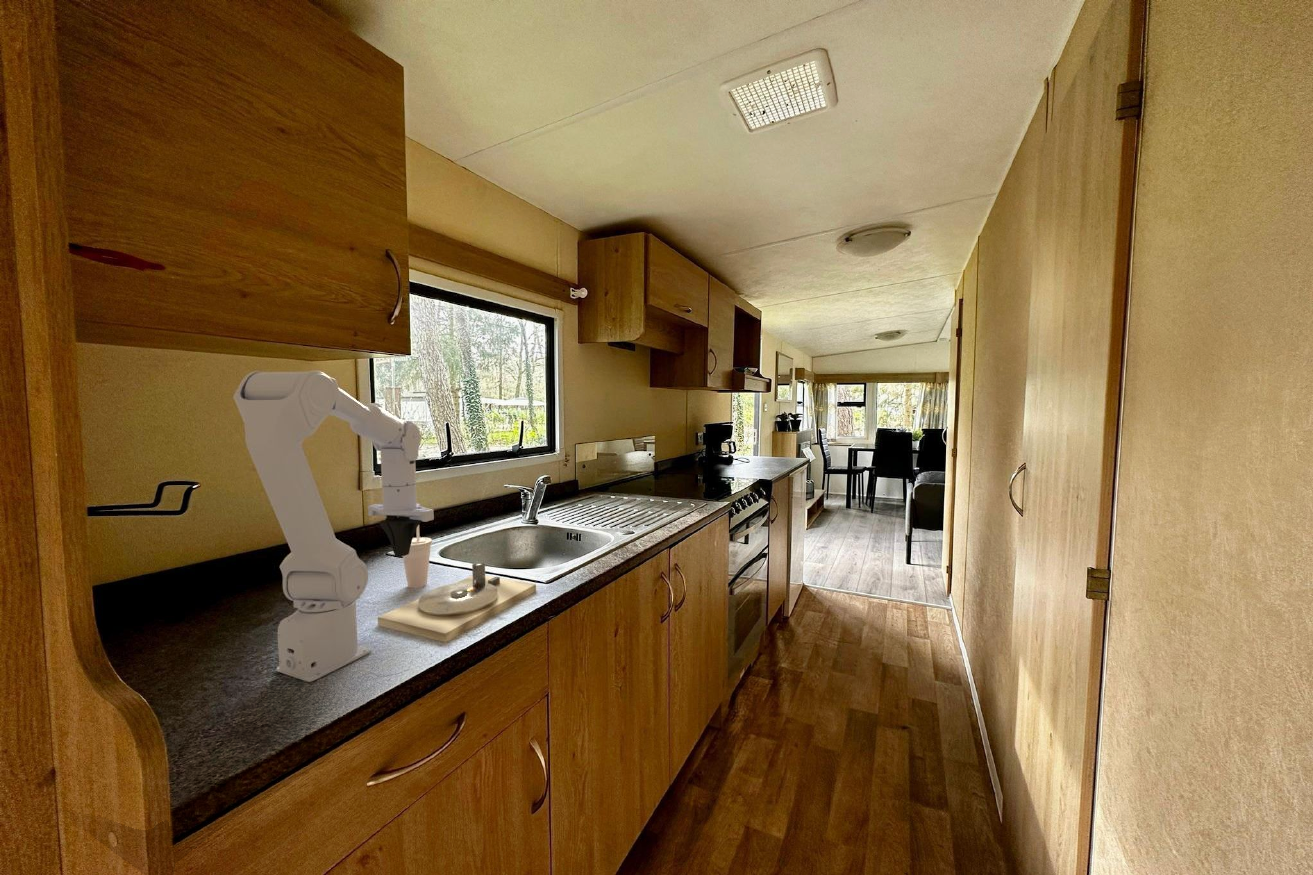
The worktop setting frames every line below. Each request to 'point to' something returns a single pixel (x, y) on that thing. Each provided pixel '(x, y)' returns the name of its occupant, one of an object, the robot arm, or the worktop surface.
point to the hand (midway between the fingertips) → (402, 555)
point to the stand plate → (452, 626)
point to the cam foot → (460, 596)
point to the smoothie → (417, 561)
